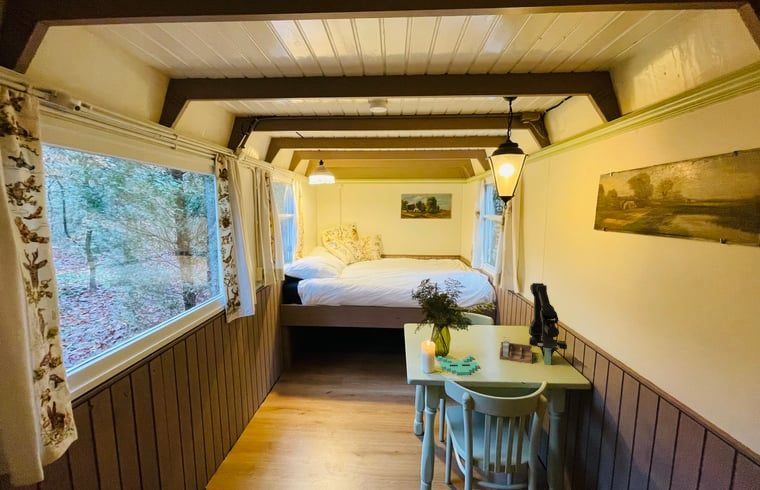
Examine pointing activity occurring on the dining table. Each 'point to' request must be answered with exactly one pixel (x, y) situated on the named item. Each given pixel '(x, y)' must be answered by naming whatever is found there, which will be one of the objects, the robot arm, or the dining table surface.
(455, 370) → the alien figure
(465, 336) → the dining table surface
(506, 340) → the book rack
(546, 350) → the green book
